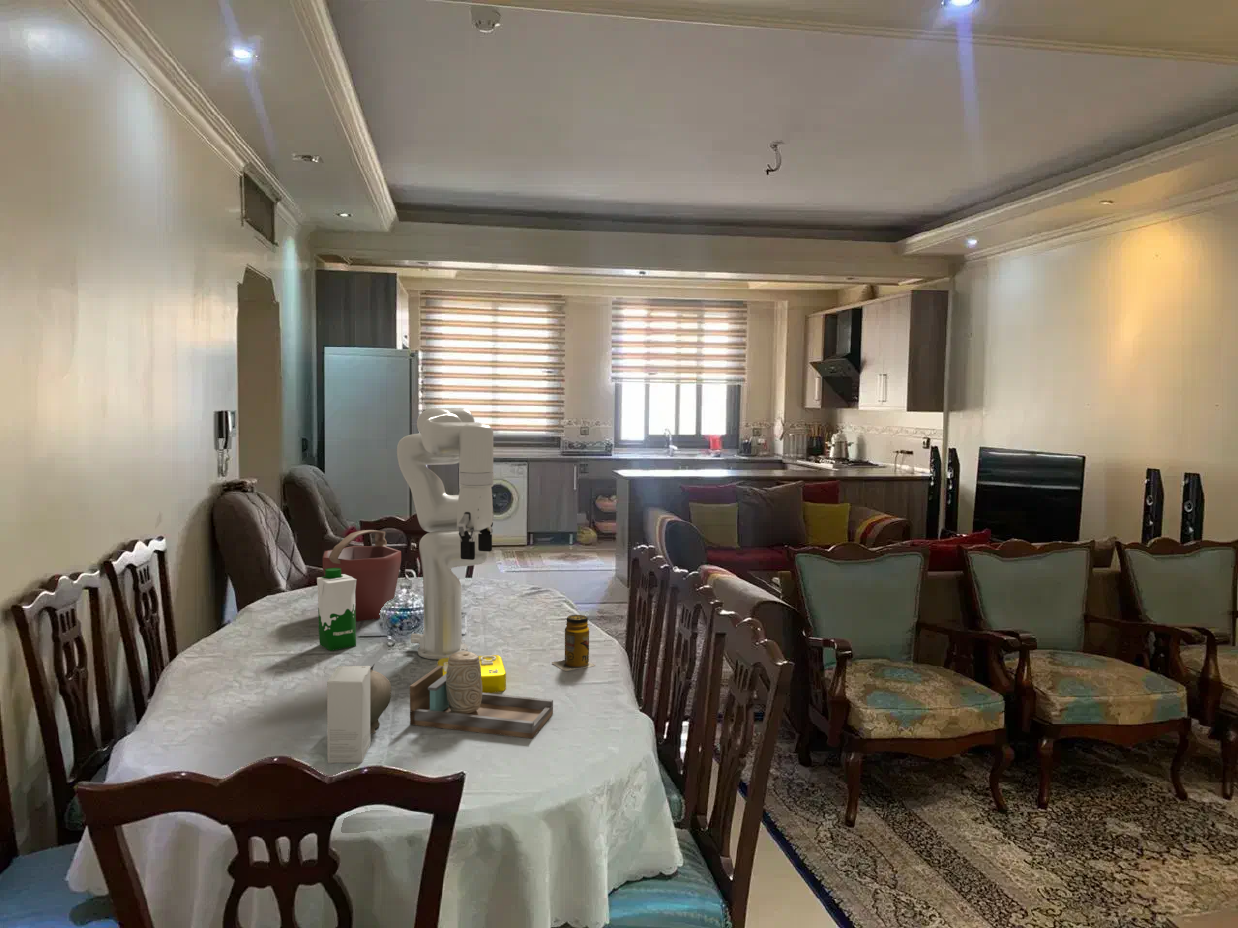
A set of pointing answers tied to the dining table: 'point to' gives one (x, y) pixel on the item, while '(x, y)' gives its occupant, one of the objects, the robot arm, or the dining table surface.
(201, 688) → the dining table surface
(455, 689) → the carving
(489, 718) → the pusher lane
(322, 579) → the milk carton
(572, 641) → the condiment
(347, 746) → the skincare box
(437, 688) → the pusher plate
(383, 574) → the bucket
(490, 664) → the yellow rounded box
